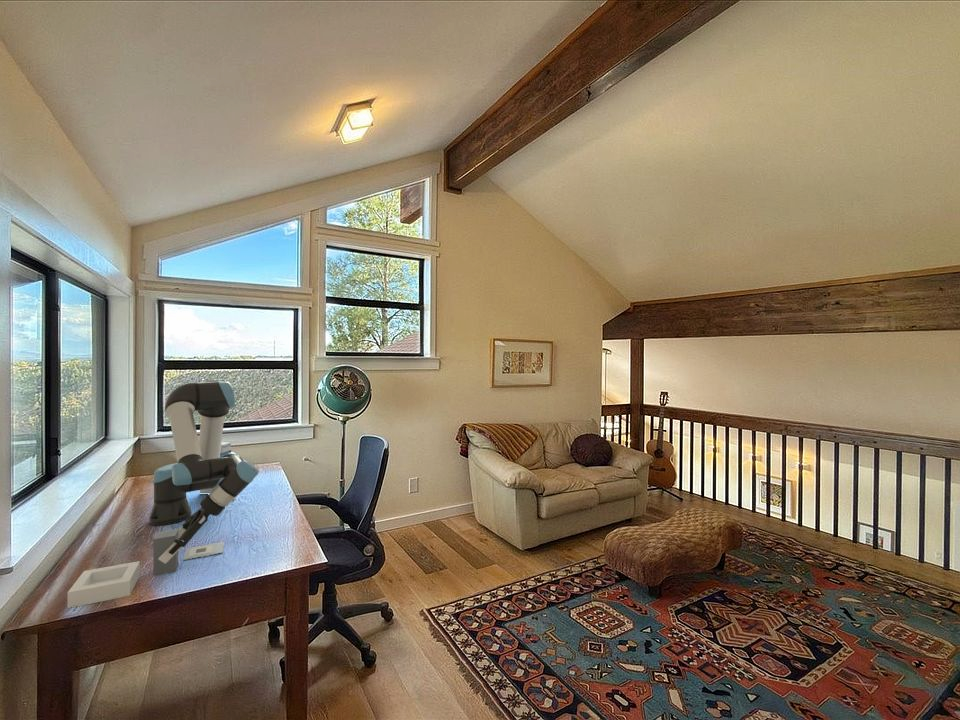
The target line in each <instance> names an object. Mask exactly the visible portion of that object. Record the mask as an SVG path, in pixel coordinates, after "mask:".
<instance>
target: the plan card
mask: <svg viewBox="0 0 960 720" xmlns="http://www.w3.org/2000/svg"><path fill="white" fill-rule="evenodd" d="M223 547H225V541H219V542H214V543H209V544H204V545H203V544H202V545H197V546H191V547H186V549H185V551H184V554H183V557H182V561H183V560H185V561H189V560H188V559H190V560H193V559H192V558H195V559H198V558H197V557H201V558H203V557H202V556H206V557H209V556H208V555H212V556H214V555H213V554H217V555H219V554H218V553H224V548H223Z"/></svg>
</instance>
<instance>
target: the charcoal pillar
mask: <svg viewBox="0 0 960 720" xmlns="http://www.w3.org/2000/svg"><path fill="white" fill-rule="evenodd" d="M178 529H179V528H178ZM178 529H177V528H176V529H173V530H172V529H171V530H170V529H169V530H166V531H157V532H156V534H155V535H154V537H153V538H152V547H153V548H152V549H153V550H152V551H153V552H152V553H153V554H152V555H153V556H152V557H153V560H152V561H153V577H157V576H161V575H166V574H165V573H167V574H171V572H172V573H176V572H177V569H178V567H179V551H178V552H177V553H176V554H175V555H174V556H173V557H172V558H171V559H170V560H169V561H168V562H167V563H166V564H165V563H163V562H162V561H160V560H158V558H159V557H160V556H161V555H162V554H163V553H164V552H165V551H166V550H167V549H168V548H169V547H170V546H171V545H172V544H173V543H174V540H176V539H177V540H178Z"/></svg>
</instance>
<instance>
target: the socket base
mask: <svg viewBox="0 0 960 720" xmlns="http://www.w3.org/2000/svg"><path fill="white" fill-rule="evenodd" d="M140 576H141V561H140V560H139V561H132V562H127V563H120V564H115V565H112V566H111V565H110V566H105V567H99V568H94V569H92V568H91V569H87V570H83V572H81V574H80V576H79V577H78V578H77V579H76V581H74V583H73V585H72V586H71V587H70V588H69V590H68V592H67V609H71V607H72V608H76V607H75V606H77V607H80V606H81V605H82V606H85V605H86V604H87V605H91V604H96V603H100V602H105V601H110V600H116V599H120V598H124V597H125V598H126V597H130V596H131V594H132V592H133V590H134V589H135V586H136V584H137V582H138V581H139V578H140Z"/></svg>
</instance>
